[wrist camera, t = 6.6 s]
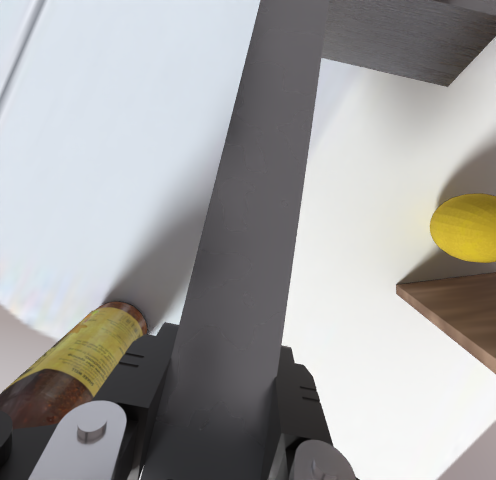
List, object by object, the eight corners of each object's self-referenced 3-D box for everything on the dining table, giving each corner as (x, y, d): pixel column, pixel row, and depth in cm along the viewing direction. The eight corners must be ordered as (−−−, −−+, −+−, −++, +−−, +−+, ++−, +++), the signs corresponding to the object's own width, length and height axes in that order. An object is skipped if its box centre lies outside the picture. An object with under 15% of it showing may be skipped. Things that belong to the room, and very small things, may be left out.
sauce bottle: (94, 293, 29) (-216, 519, 10) (153, 304, 30) (-37, 548, 10) (89, 348, 31) (-189, 640, 11) (146, 358, 31) (-33, 664, 12)
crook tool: (117, 643, 9) (40, 879, 5) (267, 9, 18) (279, -77, 14) (475, 697, 9) (653, 954, 6) (446, 51, 18) (505, -21, 15)
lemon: (403, 240, 28) (463, 264, 20) (426, 184, 26) (499, 186, 19) (456, 254, 28) (536, 284, 20) (481, 200, 27) (576, 209, 19)
